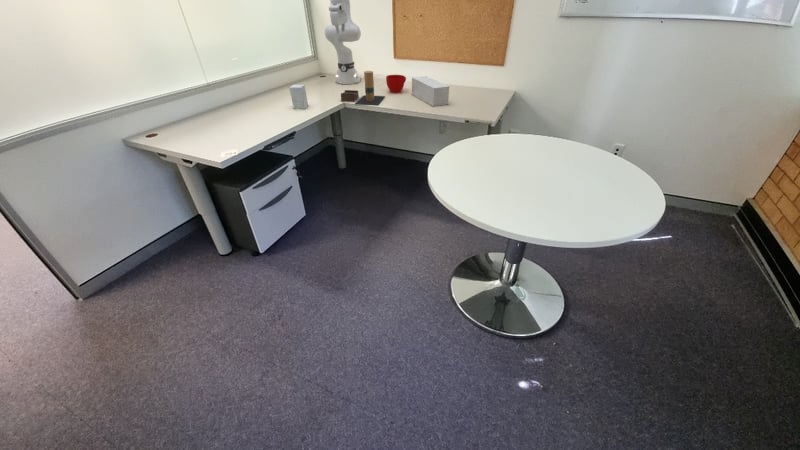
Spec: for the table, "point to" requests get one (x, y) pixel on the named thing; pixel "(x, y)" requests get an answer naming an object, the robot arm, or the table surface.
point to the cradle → (349, 95)
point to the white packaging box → (298, 96)
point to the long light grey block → (430, 90)
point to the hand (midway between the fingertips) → (340, 32)
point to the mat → (375, 102)
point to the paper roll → (369, 85)
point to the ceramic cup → (395, 82)
